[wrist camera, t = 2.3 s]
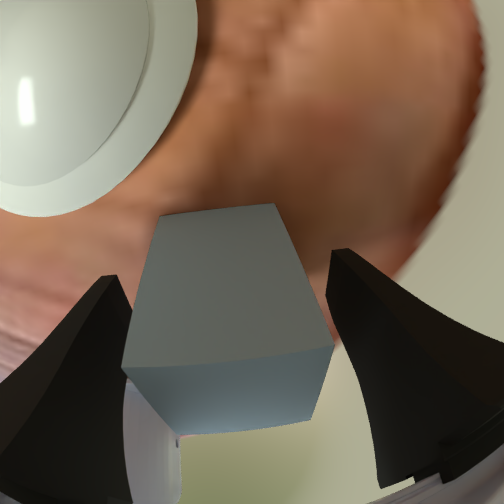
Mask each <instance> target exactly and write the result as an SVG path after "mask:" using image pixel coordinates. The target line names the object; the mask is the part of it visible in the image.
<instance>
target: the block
mask: <svg viewBox="0 0 504 504" xmlns="http://www.w3.org/2000/svg"><path fill="white" fill-rule="evenodd" d="M334 346H335V344H334V341H333V339H332V336H331V334H330V331H329V329H328V326H327V324H326V321H325V319H324V316H323V314H322V311H321V309H320V306H319V304H318V302H317V299H316V297H315V294H314V292H313V290H312V287H311V285H310V283H309V280H308V278H307V275H306V273H305V271H304V268H303V266H302V264H301V262H300V259H299V257H298V255H297V252H296V250H295V248H294V246H293V243H292V241H291V239H290V236H289V234H288V232H287V230H286V228H285V225H284V223H283V221H282V219H281V217H280V214H279V212H278V210H277V208H276V206H275V203H268V204H258V205H248V206H238V207H229V208H220V209H212V210H203V211H195V212H187V213H180V214H172V215H165V216H160V217H159V220H158V223H157V226H156V229H155V232H154V235H153V239H152V242H151V245H150V248H149V252H148V255H147V259H146V262H145V266H144V269H143V273H142V276H141V280H140V284H139V288H138V292H137V296H136V300H135V304H134V308H133V312H132V316H131V321H130V325H129V330H128V334H127V339H126V344H125V349H124V354H123V360H122V365H121V368H122V369H123V371H124V372H125V374H126V375H127V376H128V378H129V379H130V380H131V382H132V383H133V384H134V385H135V387H136V388H137V389H138V391H139V392H140V393H141V394H142V396H143V397H144V398H145V399H146V401H147V402H148V403H149V404H150V405H151V407H152V408H153V409H154V410H155V411H156V412H157V414H158V415H159V416H160V417H161V418H162V419H163V420H164V422H165V423H166V424H167V425H168V426H169V427H170V428H171V429H172V430H173V431H174V432H175V434H176V435H190V434H211V433H212V434H213V433H226V432H237V431H246V430H255V429H262V428H269V427H276V426H282V425H287V424H293V423H298V422H302V421H308V420H310V419H311V417H312V414H313V411H314V409H315V406H316V403H317V400H318V397H319V394H320V391H321V388H322V385H323V382H324V379H325V376H326V373H327V370H328V366H329V363H330V360H331V356H332V353H333V350H334Z"/></svg>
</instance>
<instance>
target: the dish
mask: <svg viewBox="0 0 504 504" xmlns="http://www.w3.org/2000/svg"><path fill="white" fill-rule="evenodd" d="M197 39H198V14H197V7H196V0H0V208H2V209H4V210H6V211H9V212H12V213H15V214H18V215H24V216H30V217H48V216H55V215H61V214H64V213H68V212H71V211H74V210H77V209H79V208H81V207H84V206H86V205H88V204H90V203H92V202H94V201H95V200H97V199H98V198H100V197H102V196H103V195H105V194H106V193H108V192H109V191H110V190H112V189H113V188H114V187H115V186H116V185H118V184H119V183H120V182H121V181H123V180H124V179H125V178H126V177H127V176H128V175H129V174H130V173H131V172H132V171H133V170H134V168H135V167H136V166H137V165H139V163H140V162H141V161H142V160H143V158H144V157H145V156H146V155H147V153H148V152H149V151H150V150H151V148H152V147H153V146H154V145H155V143H156V142H157V141H158V139H159V138H160V136H161V135H162V133H163V131H164V130H165V128H166V127H167V125H168V124H169V122H170V120H171V118H172V116H173V115H174V113H175V111H176V109H177V107H178V105H179V103H180V101H181V98H182V96H183V93H184V91H185V88H186V86H187V83H188V81H189V77H190V73H191V69H192V66H193V62H194V59H195V52H196V45H197Z"/></svg>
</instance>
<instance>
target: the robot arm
mask: <svg viewBox="0 0 504 504" xmlns="http://www.w3.org/2000/svg"><path fill="white" fill-rule="evenodd" d="M325 296H326V299H327V303H328V306H329V310H330V313H331V316H332V319H333V322H334V324H335V326H336V329H337V331H338V333H339V335H340V338H341V340H342V342H343V345H344V347H345V349H346V351H347V354H348V356H349V358H350V361H351V363H352V365H353V368H354V370H355V372H356V375H357V378H358V381H359V384H360V387H361V391H362V394H363V398H364V402H365V406H366V410H367V414H368V418H369V422H370V427H371V433H372V439H373V444H374V451H375V459H376V468H377V480H378V483H379V486H380V488H381V489H382V488H385V487H388V486H391V485H393V484H396V483H399V482H401V481H404V480H406V479H408V478H410V477H412V476H413V477H414V481H415V484H413V485H411V486H408V487H406V488H404V489H402V490H400V491H398V492H395V493H393V494H391V495H388V496H386V497H383V498H381V499H378V500H376V501H373V502H370V503H367V504H504V343H503V342H500V341H498V340H495V339H493V338H490V337H488V336H485V335H483V334H481V333H479V332H477V331H474V330H472V329H470V328H468V327H466V326H464V325H462V324H460V323H458V322H456V321H454V320H453V319H451V318H449V317H447V316H446V315H444V314H442V313H441V312H439V311H437V310H436V309H434V308H432V307H431V306H429V305H427V304H426V303H424V302H423V301H421V300H420V299H418V298H417V297H415V296H414V295H412V294H411V293H410V292H408V291H407V290H405V289H404V288H402V287H401V286H400V285H398V284H397V283H396V282H394V281H393V280H391V279H390V278H389V277H387V276H386V275H385V274H383V273H382V272H381V271H379V270H378V269H377V268H375V267H374V266H373V265H371V264H370V263H369V262H367V261H366V260H365V259H363V258H362V257H361V256H359V255H358V254H356V253H355V252H354V251H352V250H351V249H349V248H346V249H337V250H332V253H331V261H330V268H329V275H328V281H327V288H326V294H325ZM132 312H133V311H132V308H131V306H130V304H129V302H128V300H127V297H126V295H125V293H124V291H123V288H122V286H121V284H120V281H119V279H118V277H117V275H107V276H101V277H100V278H99V279H98V280H97V281H96V282H95V283H94V284H93V285H92V286H91V287H90V288H89V290H88V291H87V292H86V293H85V294H84V295H83V296H82V298H81V299H80V300H79V301H78V302H77V303H76V305H75V306H74V307H73V308H72V309H71V310H70V312H69V313H68V314H67V315H66V316H65V318H64V319H63V320H62V321H61V322H60V323H59V324H58V325H57V327H56V328H55V329H54V330H53V331H52V332H51V334H50V335H49V336H48V337H47V338H46V339H45V340H44V342H43V343H42V344H41V345H40V346H39V347H38V348H37V349H36V350H35V351H34V352H33V353H32V354H31V355H30V356H29V357H28V358H27V359H26V360H25V361H24V362H23V363H22V364H21V365H20V366H19V367H18V368H17V369H16V370H14V371H13V372H12V373H11V374H10V375H9V376H8V377H7V378H6V379H5V380H3V381H2V382H1V383H0V504H177V503H178V501H179V499H180V497H181V491H182V483H181V460H180V435H176V434H175V432H174V431H173V430H172V429H171V428H170V427H169V426H168V425H167V424H166V423H165V422H164V420H163V419H162V418H161V417H160V416H159V415H158V414H157V412H156V411H155V410H154V409H153V408H152V407H151V405H150V404H149V403H148V402H147V401H146V399H145V398H144V397H143V396H142V394H141V393H140V392H139V391H138V389H137V388H136V387H135V385H134V384H133V383H132V382H131V380H130V379H127V375H126V374H125V372H124V371H123V369H122V368H121V365H122V360H123V354H124V349H125V344H126V339H127V334H128V330H129V325H130V321H131V316H132Z"/></svg>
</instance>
